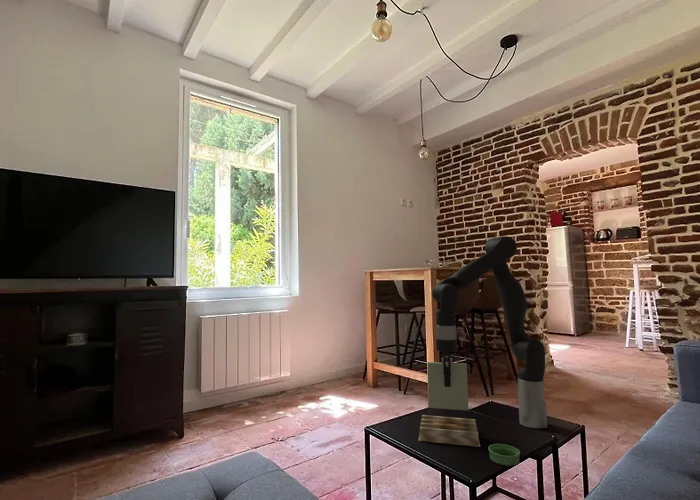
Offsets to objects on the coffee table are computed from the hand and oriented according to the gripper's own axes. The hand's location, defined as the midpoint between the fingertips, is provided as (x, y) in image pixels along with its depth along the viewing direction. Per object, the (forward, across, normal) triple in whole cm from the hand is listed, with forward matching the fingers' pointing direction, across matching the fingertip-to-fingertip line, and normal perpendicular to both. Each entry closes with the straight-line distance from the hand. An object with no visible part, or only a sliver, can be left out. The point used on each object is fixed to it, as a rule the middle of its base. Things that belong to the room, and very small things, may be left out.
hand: (447, 385), depth 137 cm
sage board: (+8, 0, 0) cm, 8 cm away
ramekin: (+18, -19, -16) cm, 31 cm away
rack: (+17, -4, 0) cm, 18 cm away
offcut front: (+16, -8, +1) cm, 18 cm away
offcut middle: (+16, -4, -1) cm, 17 cm away
